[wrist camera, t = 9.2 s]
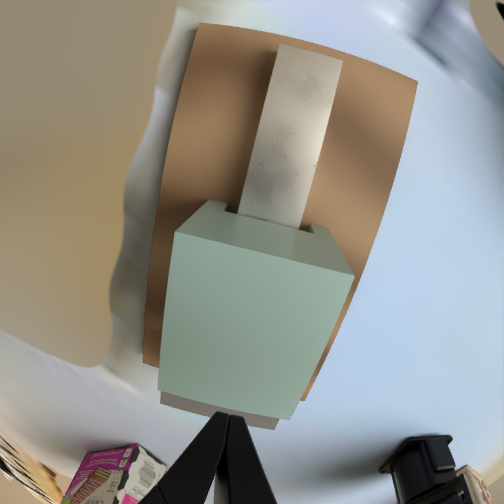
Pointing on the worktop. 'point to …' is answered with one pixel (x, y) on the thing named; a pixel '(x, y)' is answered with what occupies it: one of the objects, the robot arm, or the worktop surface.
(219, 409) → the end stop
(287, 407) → the block
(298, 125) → the metal rail
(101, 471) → the candy bar box
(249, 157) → the mounting board
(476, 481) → the decorative jar
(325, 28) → the worktop surface
